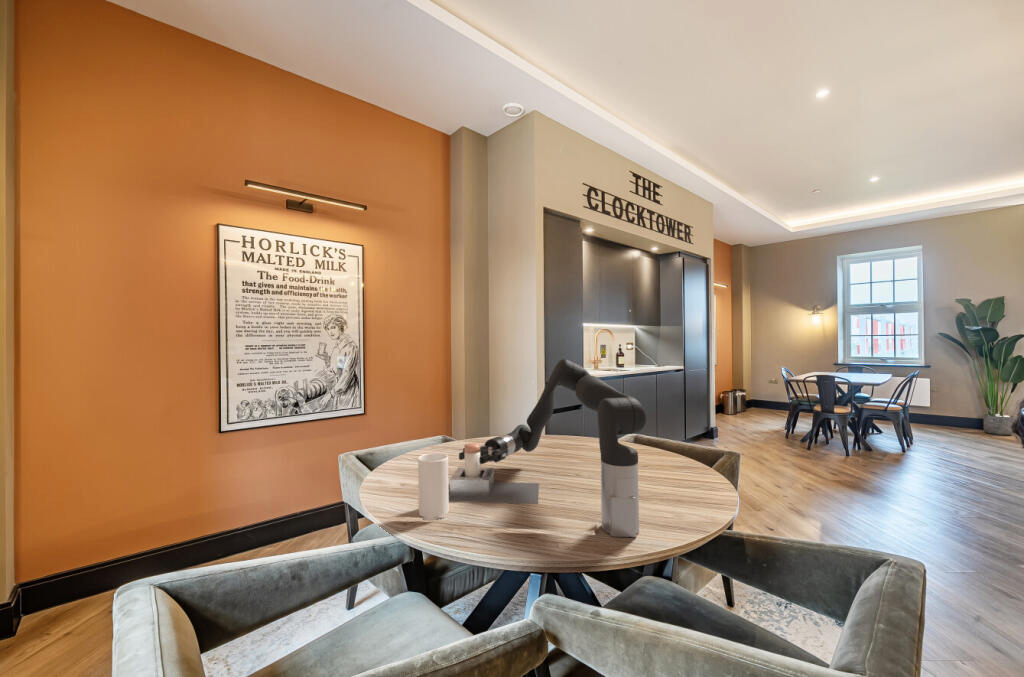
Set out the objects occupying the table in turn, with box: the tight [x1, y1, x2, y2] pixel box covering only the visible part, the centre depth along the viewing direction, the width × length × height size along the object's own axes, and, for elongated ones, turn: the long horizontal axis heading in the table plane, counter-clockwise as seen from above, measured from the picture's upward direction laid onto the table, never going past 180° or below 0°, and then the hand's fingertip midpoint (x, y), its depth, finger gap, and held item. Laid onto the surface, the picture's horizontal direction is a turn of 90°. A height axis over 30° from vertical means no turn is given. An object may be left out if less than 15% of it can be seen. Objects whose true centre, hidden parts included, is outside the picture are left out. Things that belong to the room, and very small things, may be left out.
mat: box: [449, 481, 540, 505], centre depth 127 cm, size 17×28×1 cm, turn 86°
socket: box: [449, 466, 495, 497], centre depth 129 cm, size 12×12×5 cm
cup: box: [417, 452, 450, 521], centre depth 113 cm, size 8×8×16 cm
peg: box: [463, 442, 482, 477], centre depth 129 cm, size 5×5×14 cm
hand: (469, 458), depth 128 cm, fingers open, 8 cm apart
